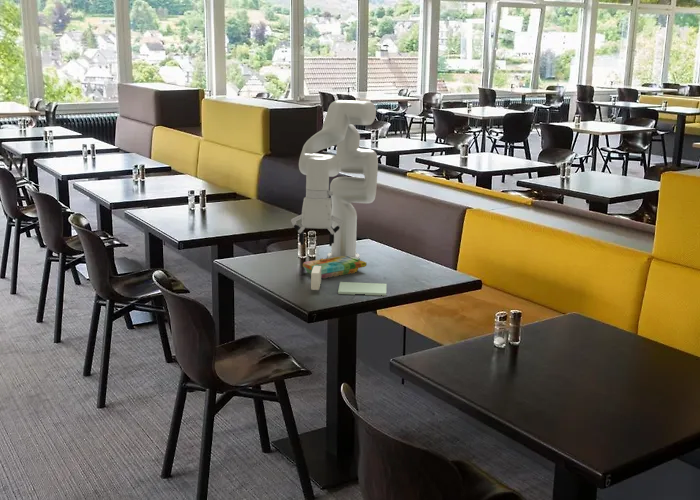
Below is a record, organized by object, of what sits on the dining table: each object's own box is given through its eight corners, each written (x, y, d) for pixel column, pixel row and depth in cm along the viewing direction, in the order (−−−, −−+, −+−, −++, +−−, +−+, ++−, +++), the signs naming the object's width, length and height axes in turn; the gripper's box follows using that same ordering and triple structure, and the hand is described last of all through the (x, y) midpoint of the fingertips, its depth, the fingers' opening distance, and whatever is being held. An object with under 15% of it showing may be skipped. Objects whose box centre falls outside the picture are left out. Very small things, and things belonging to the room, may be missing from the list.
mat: (340, 284, 273) (340, 281, 272) (386, 285, 272) (386, 283, 272) (337, 293, 262) (337, 291, 262) (386, 295, 261) (386, 293, 261)
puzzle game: (302, 260, 285) (347, 253, 297) (302, 272, 286) (347, 265, 298) (321, 268, 276) (366, 260, 287) (321, 280, 277) (366, 272, 289)
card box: (313, 282, 275) (313, 265, 273) (321, 282, 274) (321, 265, 273) (310, 290, 266) (311, 272, 264) (318, 290, 266) (319, 273, 264)
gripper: (344, 193, 265) (342, 243, 269) (292, 191, 266) (292, 241, 270) (342, 197, 258) (341, 248, 262) (289, 195, 259) (289, 246, 263)
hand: (316, 244), depth 266 cm, fingers open, 9 cm apart
